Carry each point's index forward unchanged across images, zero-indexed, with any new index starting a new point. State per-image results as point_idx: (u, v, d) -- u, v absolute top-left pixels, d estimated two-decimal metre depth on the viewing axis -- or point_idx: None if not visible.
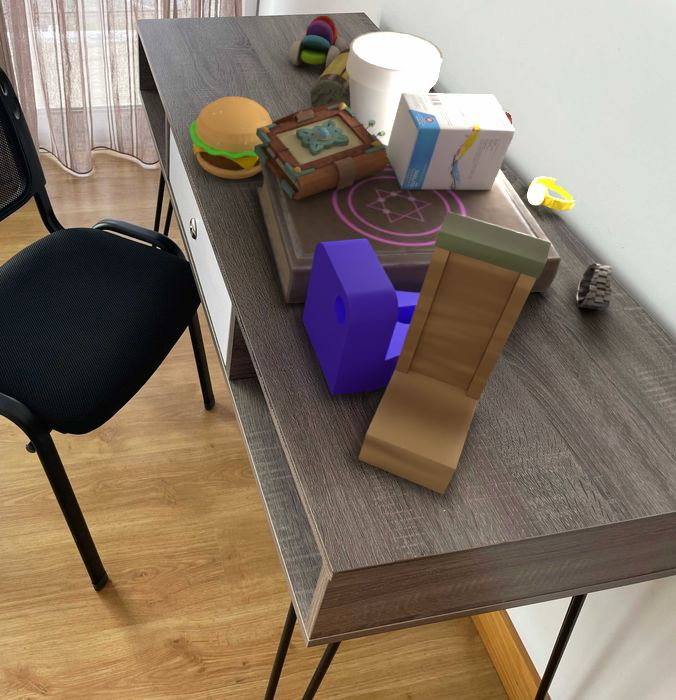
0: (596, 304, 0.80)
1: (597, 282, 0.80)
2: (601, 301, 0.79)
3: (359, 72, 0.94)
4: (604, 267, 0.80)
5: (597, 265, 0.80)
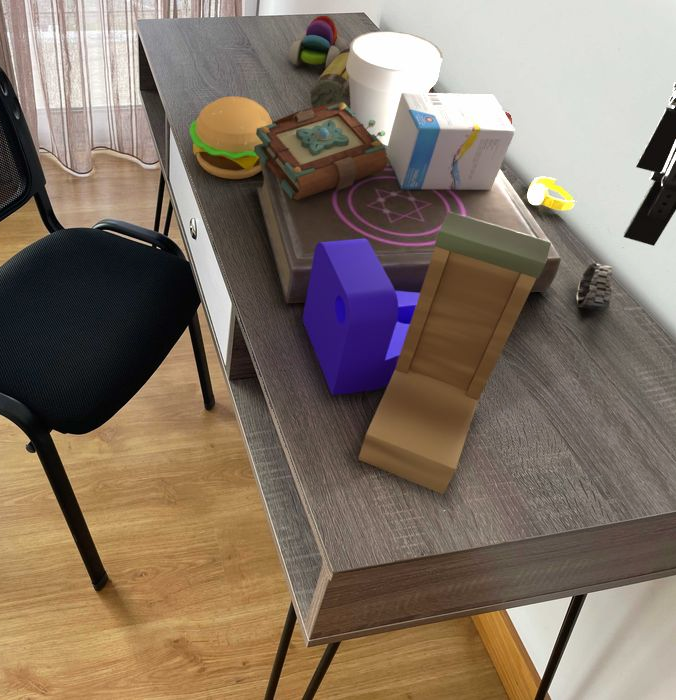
0: (596, 304, 0.80)
1: (597, 282, 0.80)
2: (601, 301, 0.79)
3: (359, 72, 0.94)
4: (604, 267, 0.80)
5: (597, 265, 0.80)
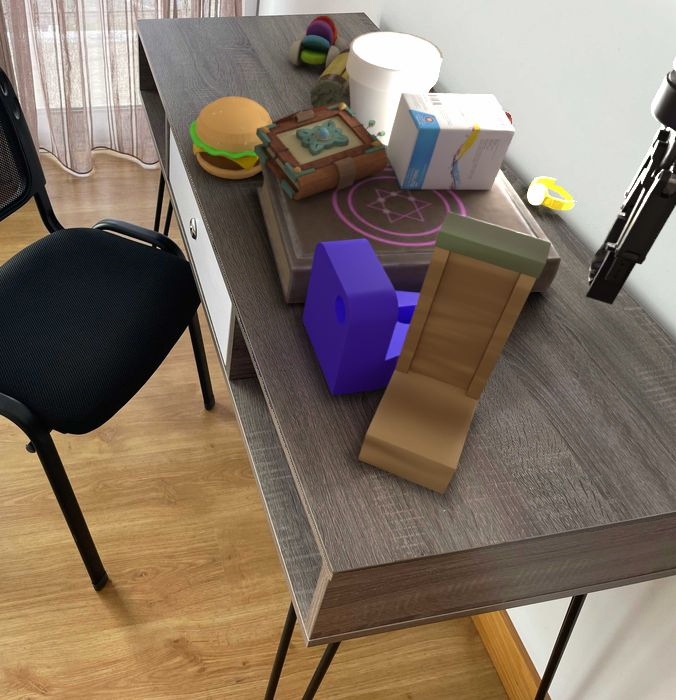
0: None
1: None
2: None
3: (359, 72, 0.94)
4: None
5: None
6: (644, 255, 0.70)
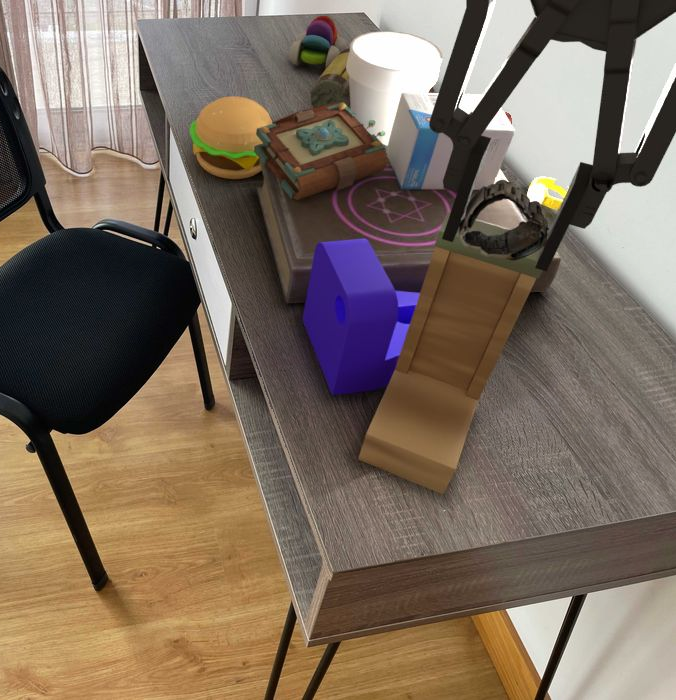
0: None
1: (528, 209, 0.46)
2: (545, 222, 0.47)
3: (359, 72, 0.94)
4: (507, 187, 0.46)
5: (504, 193, 0.45)
6: None
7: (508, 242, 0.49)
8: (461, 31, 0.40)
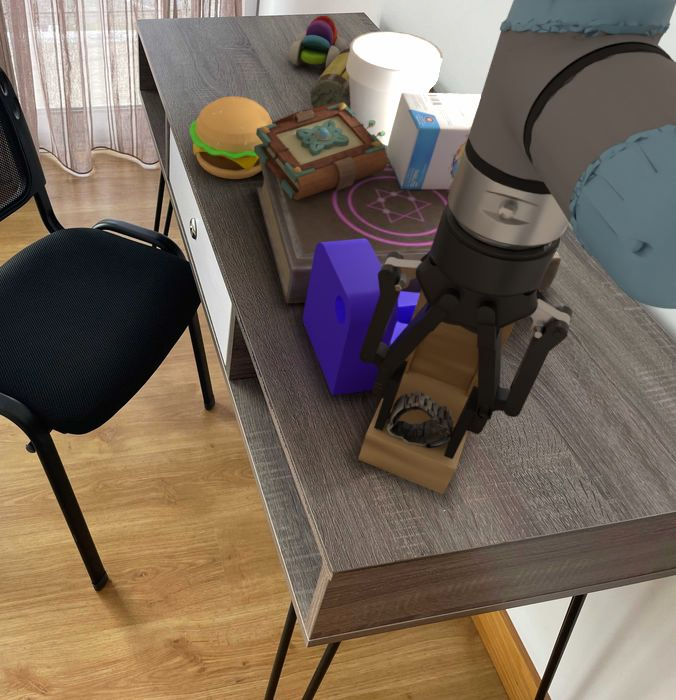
0: (452, 428, 0.62)
1: (436, 416, 0.61)
2: (451, 422, 0.62)
3: (359, 72, 0.94)
4: (421, 399, 0.60)
5: (418, 405, 0.60)
6: None
7: (425, 432, 0.63)
8: (377, 307, 0.55)
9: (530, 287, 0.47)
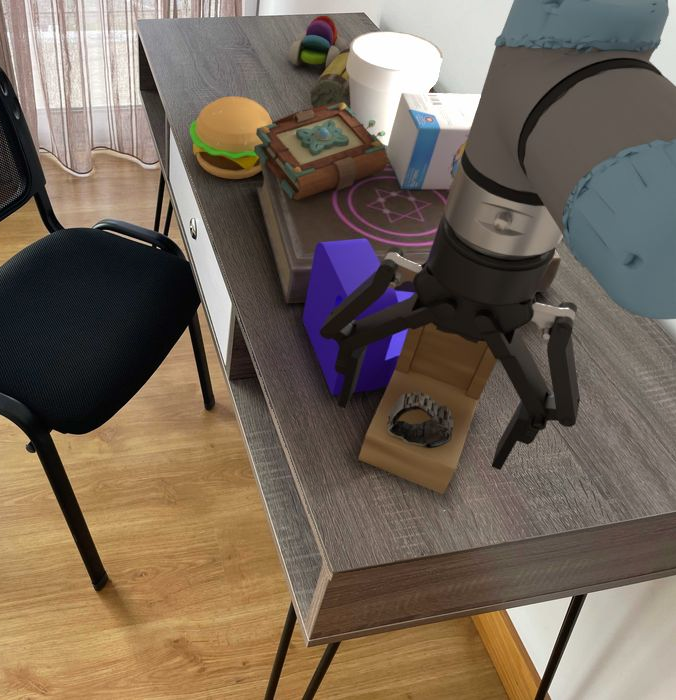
0: None
1: (436, 415, 0.61)
2: (451, 422, 0.62)
3: (359, 72, 0.94)
4: (421, 399, 0.60)
5: (418, 405, 0.60)
6: (578, 394, 0.54)
7: (425, 432, 0.63)
8: (362, 294, 0.55)
9: (526, 297, 0.48)
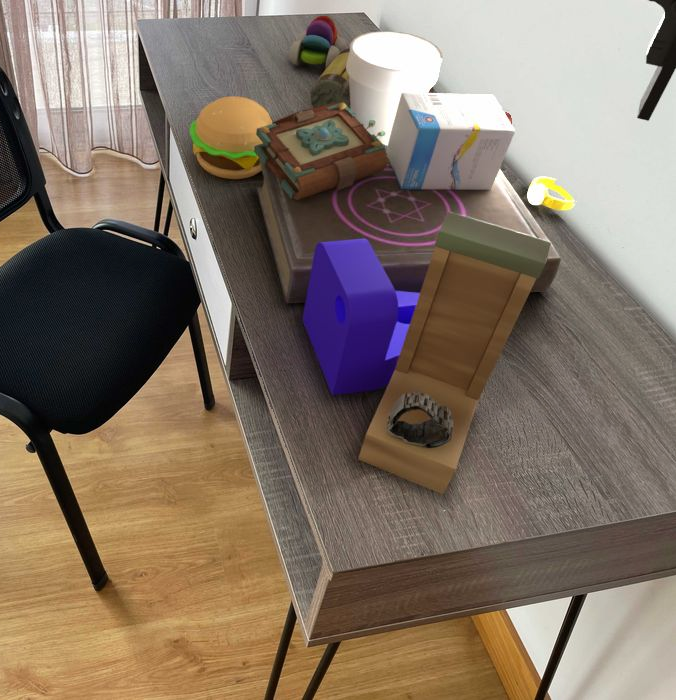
0: None
1: (436, 415, 0.61)
2: (451, 422, 0.62)
3: (359, 72, 0.94)
4: (421, 399, 0.60)
5: (418, 405, 0.60)
6: None
7: (425, 432, 0.63)
8: None
9: None
